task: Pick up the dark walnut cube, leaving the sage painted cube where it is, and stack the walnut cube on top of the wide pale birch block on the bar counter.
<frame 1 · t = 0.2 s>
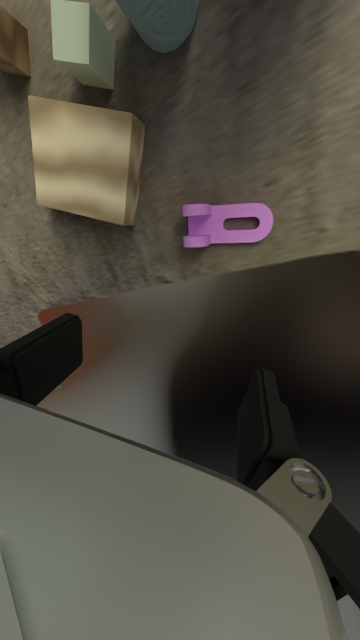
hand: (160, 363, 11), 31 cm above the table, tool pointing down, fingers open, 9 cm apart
birch block: (97, 170, 38), on the table
sage cube: (98, 63, 32), on the table
walnut cube: (15, 52, 34), on the table
bracket: (229, 224, 36), on the table
teal cylinder: (164, 7, 28), on the table
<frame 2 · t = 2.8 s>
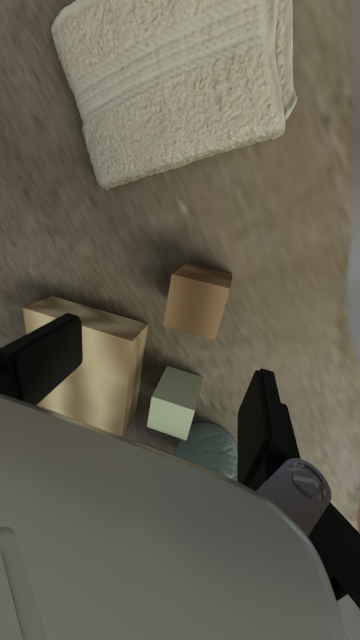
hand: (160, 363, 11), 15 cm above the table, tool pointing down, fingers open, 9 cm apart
birch block: (98, 357, 33), on the table
sage cube: (181, 385, 31), on the table
walnut cube: (204, 290, 25), on the table
washcloth: (175, 91, 19), on the table
teal cylinder: (208, 440, 34), on the table
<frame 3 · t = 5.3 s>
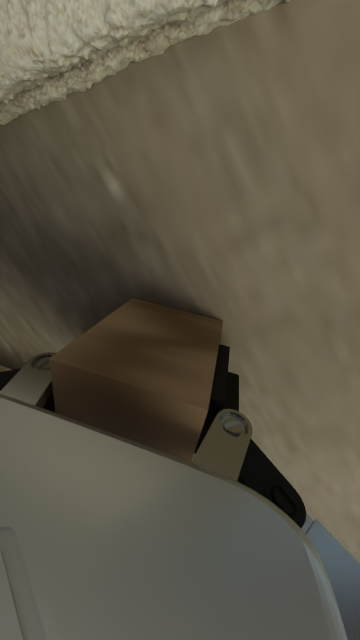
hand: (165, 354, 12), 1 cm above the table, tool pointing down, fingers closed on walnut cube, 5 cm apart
walnut cube: (169, 347, 13), on the table, touching gripper
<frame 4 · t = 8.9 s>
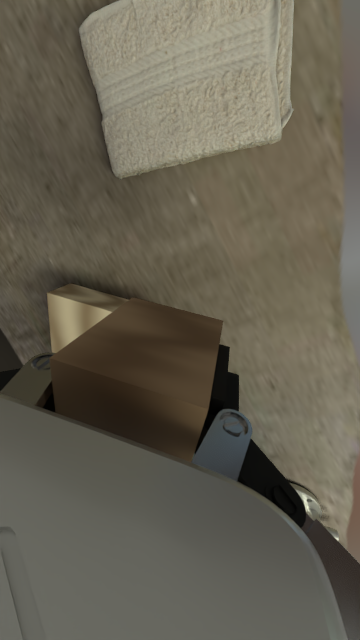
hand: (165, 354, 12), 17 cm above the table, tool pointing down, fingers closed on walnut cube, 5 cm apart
birch block: (112, 340, 36), on the table
walnut cube: (169, 347, 13), point 17 cm above the table, touching gripper
washcloth: (187, 94, 21), on the table
when the fingers open (7 cm above the table, at t = 12.8 s): walnut cube drops 2 cm, point 5 cm above the table.
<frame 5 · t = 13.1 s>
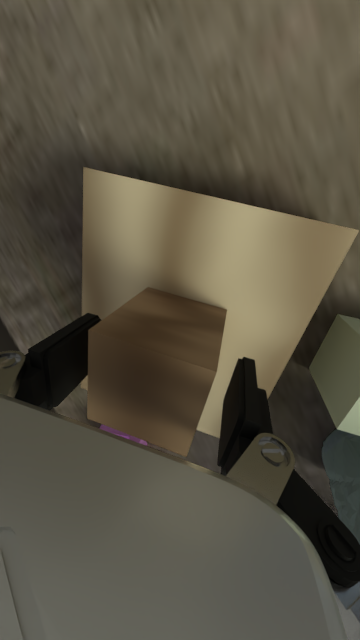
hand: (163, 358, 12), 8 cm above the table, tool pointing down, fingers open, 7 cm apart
birch block: (191, 306, 19), on the table
sage cube: (356, 351, 17), on the table
walnut cube: (178, 333, 14), point 5 cm above the table
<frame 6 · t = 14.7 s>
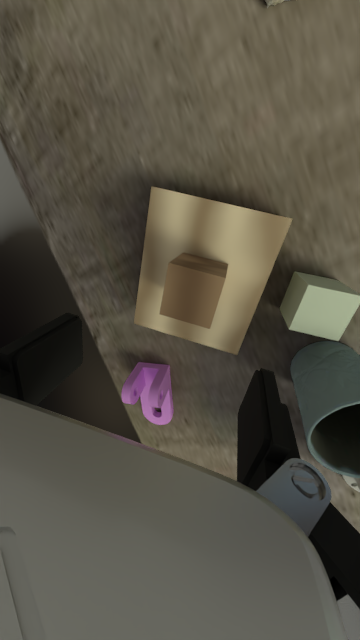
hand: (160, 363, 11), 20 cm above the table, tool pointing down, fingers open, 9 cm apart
birch block: (204, 270, 30), on the table
sage cube: (307, 295, 28), on the table
walnut cube: (200, 280, 25), point 5 cm above the table
bracket: (157, 391, 41), on the table
teal cylinder: (323, 364, 31), on the table
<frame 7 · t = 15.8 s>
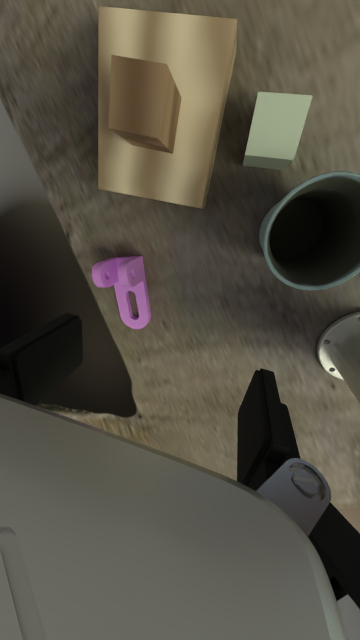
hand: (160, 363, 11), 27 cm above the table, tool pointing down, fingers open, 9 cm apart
birch block: (166, 133, 30), on the table, touching walnut cube
sage cube: (267, 144, 28), on the table
walnut cube: (155, 122, 25), point 5 cm above the table, touching birch block
bracket: (134, 293, 40), on the table
teal cylinder: (291, 229, 31), on the table
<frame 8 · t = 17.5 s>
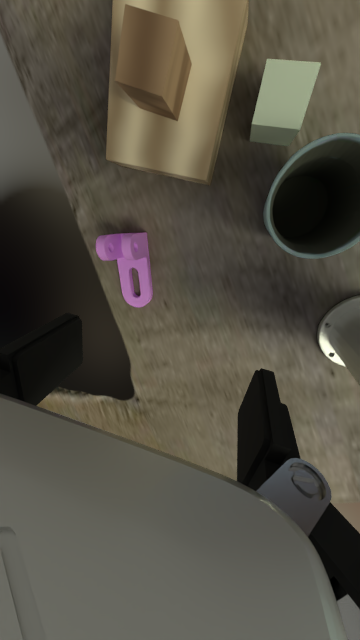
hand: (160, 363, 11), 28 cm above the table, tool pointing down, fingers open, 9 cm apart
birch block: (176, 107, 30), on the table, touching walnut cube
sage cube: (275, 119, 28), on the table
walnut cube: (164, 87, 25), point 5 cm above the table, touching birch block
bracket: (137, 270, 41), on the table
teal cylinder: (295, 207, 31), on the table
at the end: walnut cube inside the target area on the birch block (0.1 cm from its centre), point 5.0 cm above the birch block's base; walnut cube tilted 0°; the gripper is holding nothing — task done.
